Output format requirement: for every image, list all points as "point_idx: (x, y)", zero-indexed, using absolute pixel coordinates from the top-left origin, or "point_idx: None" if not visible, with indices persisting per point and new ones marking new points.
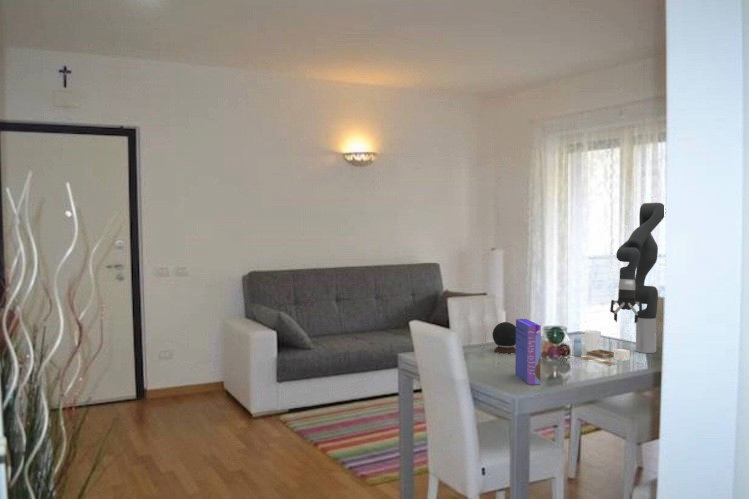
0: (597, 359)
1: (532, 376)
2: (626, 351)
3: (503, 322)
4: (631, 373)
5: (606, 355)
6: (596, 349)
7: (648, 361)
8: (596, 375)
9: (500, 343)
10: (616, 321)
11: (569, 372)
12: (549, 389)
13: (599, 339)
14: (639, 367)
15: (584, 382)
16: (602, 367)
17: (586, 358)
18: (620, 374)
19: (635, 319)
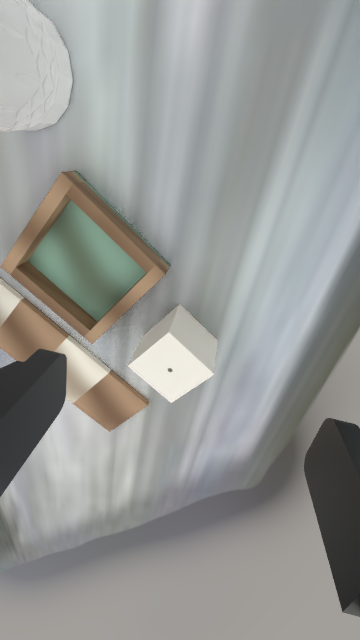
0: (70, 355)
1: None
2: (191, 388)
3: None
4: (174, 499)
5: (103, 332)
6: (45, 123)
7: (313, 347)
8: (77, 508)
9: None
10: (57, 403)
11: (9, 484)
12: (2, 566)
13: (15, 92)
14: (224, 443)
15: (55, 545)
16: (93, 442)
17: (24, 340)
18: (140, 505)
19: (331, 520)
